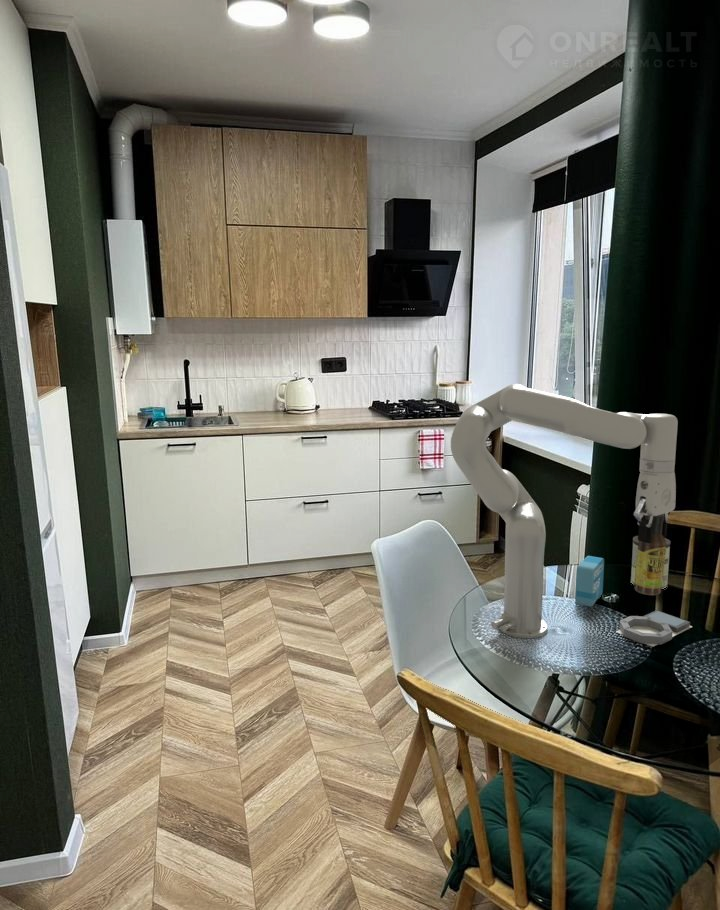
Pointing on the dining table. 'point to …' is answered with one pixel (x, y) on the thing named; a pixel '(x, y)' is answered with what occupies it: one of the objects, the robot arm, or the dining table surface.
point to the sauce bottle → (651, 560)
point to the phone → (670, 620)
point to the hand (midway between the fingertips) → (652, 538)
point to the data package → (589, 581)
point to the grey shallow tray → (646, 630)
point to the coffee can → (666, 564)
